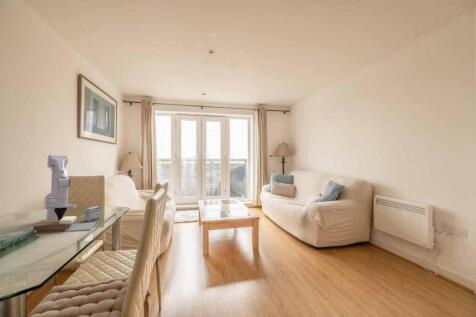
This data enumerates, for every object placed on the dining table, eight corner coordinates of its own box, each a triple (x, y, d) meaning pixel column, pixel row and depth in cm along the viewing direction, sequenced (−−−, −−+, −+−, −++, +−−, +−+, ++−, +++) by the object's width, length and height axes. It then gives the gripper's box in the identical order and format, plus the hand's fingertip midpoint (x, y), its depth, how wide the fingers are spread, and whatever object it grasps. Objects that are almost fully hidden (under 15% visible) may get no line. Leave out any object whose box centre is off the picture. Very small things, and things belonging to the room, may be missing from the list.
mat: (72, 224, 131) (73, 223, 131) (96, 223, 136) (96, 222, 136) (64, 231, 118) (64, 230, 118) (90, 230, 123) (90, 229, 123)
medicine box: (89, 221, 138) (90, 209, 138) (84, 220, 139) (85, 208, 139) (99, 218, 146) (100, 206, 146) (94, 217, 147) (95, 205, 147)
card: (64, 219, 127) (65, 216, 127) (76, 219, 130) (76, 216, 130) (58, 224, 119) (59, 220, 119) (71, 223, 121) (71, 220, 121)
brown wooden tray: (43, 226, 124) (43, 220, 124) (71, 224, 130) (71, 218, 130) (33, 233, 113) (33, 226, 113) (64, 231, 119) (65, 224, 119)
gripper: (43, 199, 116) (41, 223, 116) (74, 199, 122) (72, 221, 122) (48, 197, 123) (46, 219, 122) (78, 196, 129) (76, 218, 128)
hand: (60, 220), depth 123 cm, fingers closed
